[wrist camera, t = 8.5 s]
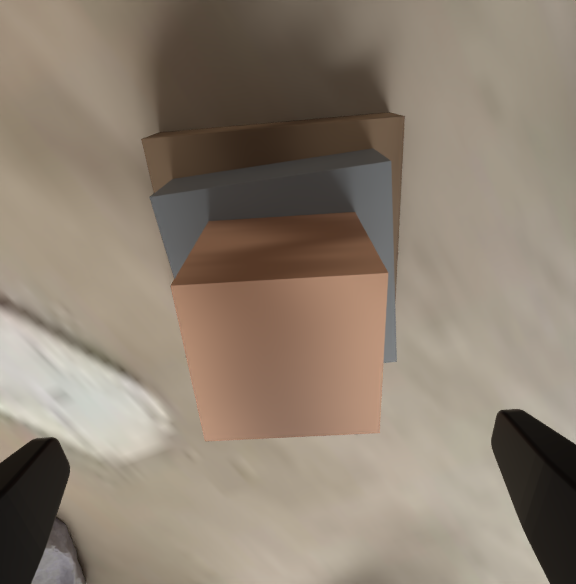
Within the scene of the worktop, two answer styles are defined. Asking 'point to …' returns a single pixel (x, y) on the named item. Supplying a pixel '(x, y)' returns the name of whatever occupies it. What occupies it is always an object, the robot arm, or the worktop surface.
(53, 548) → the stone block
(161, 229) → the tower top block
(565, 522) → the robot arm
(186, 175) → the tower base block
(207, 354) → the terracotta cube
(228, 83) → the worktop surface
